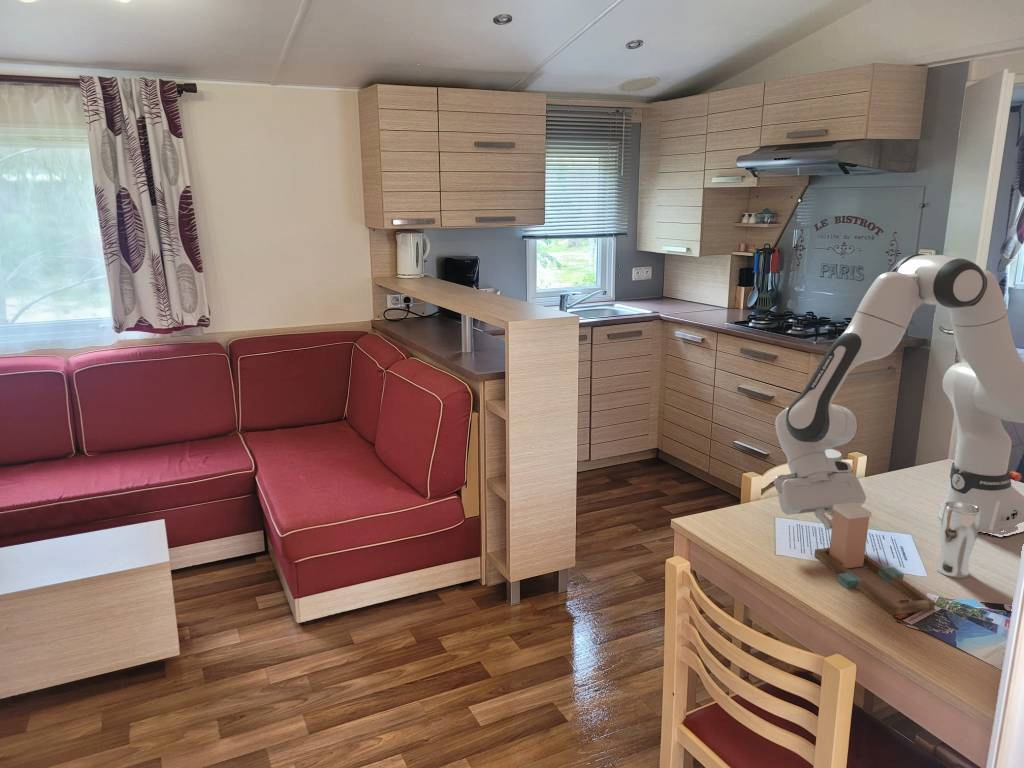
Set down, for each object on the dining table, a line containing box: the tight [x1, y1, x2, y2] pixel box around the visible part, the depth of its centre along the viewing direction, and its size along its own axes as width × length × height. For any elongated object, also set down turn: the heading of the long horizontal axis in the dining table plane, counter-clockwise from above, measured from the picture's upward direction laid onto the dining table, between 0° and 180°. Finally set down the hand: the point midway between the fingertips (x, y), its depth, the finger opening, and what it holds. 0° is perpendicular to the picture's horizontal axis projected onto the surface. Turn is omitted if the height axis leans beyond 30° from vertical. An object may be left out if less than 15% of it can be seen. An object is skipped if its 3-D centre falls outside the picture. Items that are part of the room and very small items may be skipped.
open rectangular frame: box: [813, 547, 936, 616], centre depth 157 cm, size 13×25×2 cm, turn 13°
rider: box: [829, 502, 872, 569], centre depth 163 cm, size 5×5×13 cm
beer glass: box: [935, 501, 981, 579], centre depth 159 cm, size 7×7×15 cm
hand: (833, 528), depth 168 cm, fingers closed
